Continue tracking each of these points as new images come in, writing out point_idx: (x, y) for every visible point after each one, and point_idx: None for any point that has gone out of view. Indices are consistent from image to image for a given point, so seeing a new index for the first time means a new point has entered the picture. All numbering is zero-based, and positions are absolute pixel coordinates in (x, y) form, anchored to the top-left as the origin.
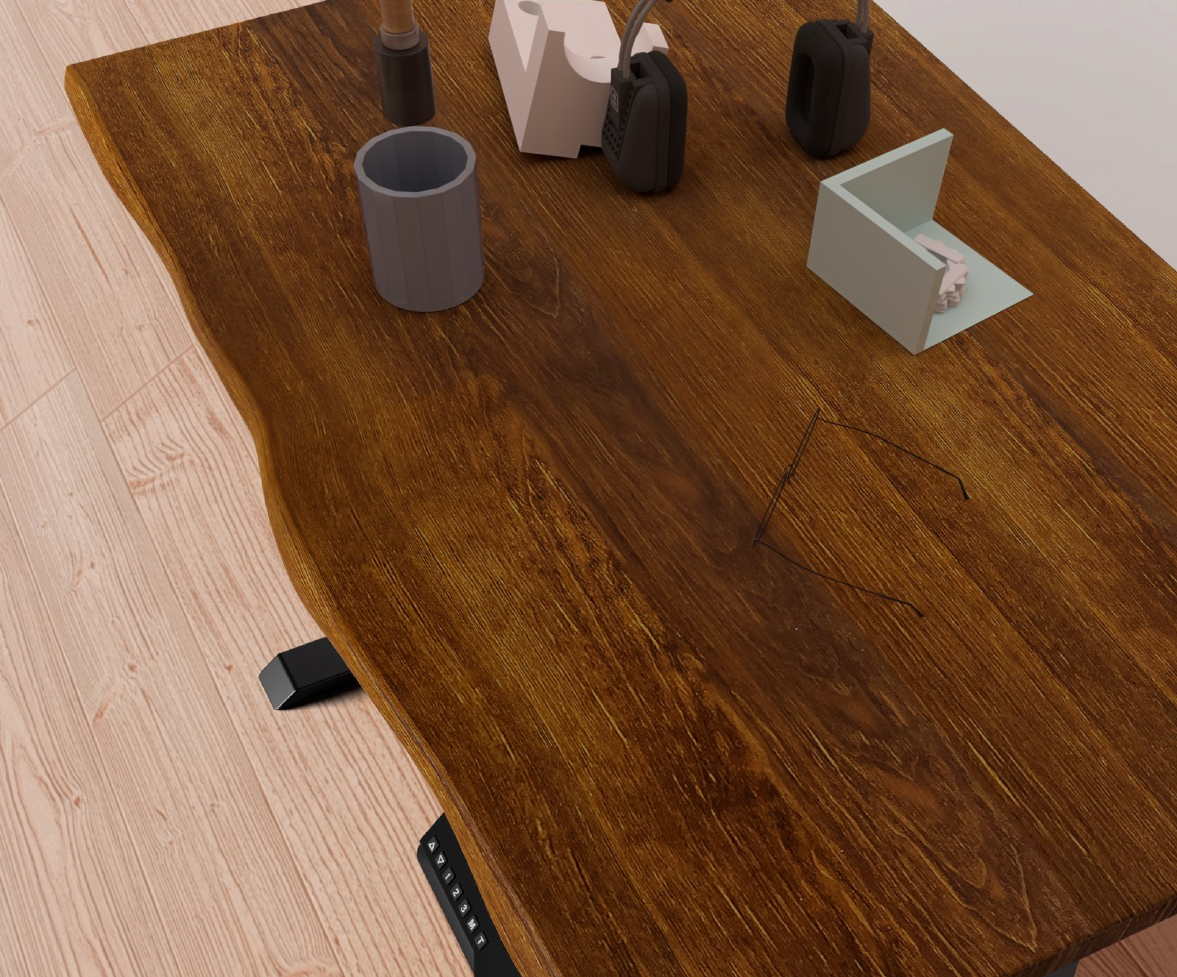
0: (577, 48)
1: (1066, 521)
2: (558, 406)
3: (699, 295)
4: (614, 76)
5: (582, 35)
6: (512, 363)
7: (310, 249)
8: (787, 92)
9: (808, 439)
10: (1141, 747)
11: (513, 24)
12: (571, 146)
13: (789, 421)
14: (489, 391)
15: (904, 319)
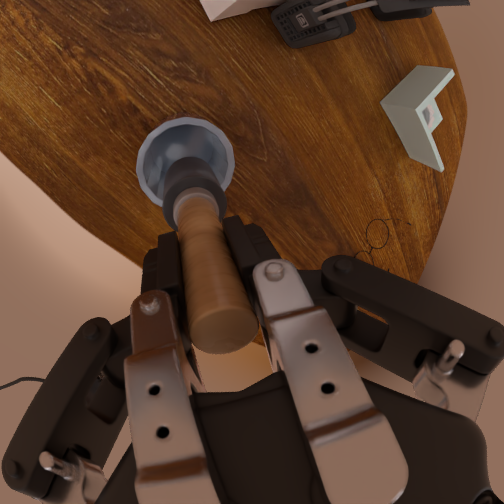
0: None
1: (426, 223)
2: (279, 221)
3: (335, 128)
4: (309, 15)
5: None
6: (251, 201)
7: (100, 149)
8: None
9: (375, 219)
10: (415, 281)
11: None
12: (245, 11)
13: (368, 203)
14: (244, 222)
15: (415, 154)
